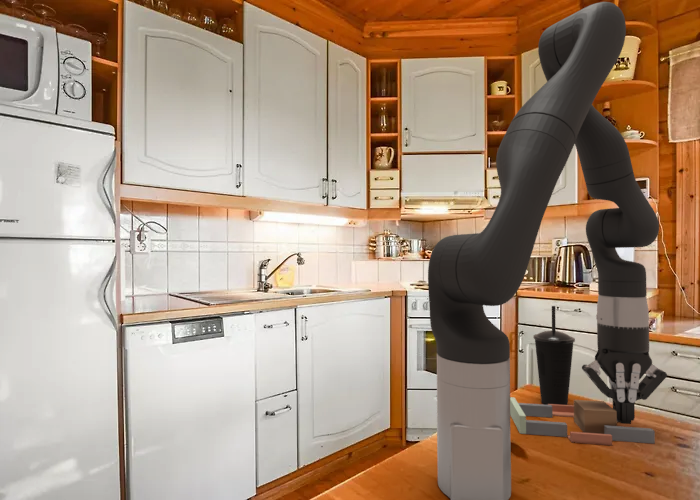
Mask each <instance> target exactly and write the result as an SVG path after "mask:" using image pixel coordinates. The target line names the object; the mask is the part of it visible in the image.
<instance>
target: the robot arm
mask: <svg viewBox="0 0 700 500" xmlns="http://www.w3.org/2000/svg"><path fill="white" fill-rule="evenodd" d="M626 26H627V25H626V18H625V15H624V13H623V11H622V9H621V8H620V6H618V5H616V4H615V3H613V2H610V1H600V2H596V3H592V4H590V5H588V6H585V7H584V8H582V9H580V10H578V11H576V12H574V13H573V14H571V15H569V16H566V17H565V18H562V19H561V20H559V21H557V22H556V23H554V24H552V25H550V26H549V27H547V28H546V29H544V31H543V32H542V34H541V35H540V36H539V37H540V38H539V41H538V45H537V46H538V48H537V49H538V51H537V52H538V58H539V62H540V66H541V69H542V71H543V72H542V73H543V75H544V78H545V79H546V82H545V84H543V85H542V86H541V87H540V88H539V89H538V90H537V91H536V92H535V93H534V94H533V95H532V96H531V97H530V98H528V100H527V101H526V102H525V103H524V104H523V105H522V106H521V107H520V108H519V110H518V111H517V113H516V114H515V115H514V117H513V118H512V120H511V121H510V124H509V125H508V128H507V130H506V132H505V134H504V136H503V137H502V139H501V142H500V145H499V146H498V149H497V152H496V157H495V158H496V159H495V160H496V161H495V165H496V172H497V173H496V174H497V178H498V182H499V186H500V195H499V199H498V203H497V205H496V207H495V210H494V211H493V214H492V216H491V218H490V219H489V221H488V223H487V224H486V226H485V227H484V229H483V230H482V231H481V232H478V233H477V232H476V233H462V234H452V235H449V236H446V237H443V238H442V239H440V240H439V241H437V243H436V244H435V245H434V247H433V249H432V252H431V253H430V257H429V261H428V267H427V285H428V286H427V289H428V290H427V291H428V302H429V305H428V306H429V308H428V309H429V321H430V324H429V325H430V329H431V332H432V335H433V337H434V340H435V343H436V414H437V415H436V423H437V424H436V428H437V430H436V431H437V432H436V437H437V438H436V441H437V443H436V444H437V446H436V451H437V452H436V453H437V485H438V487H439V489H440V490H441V492H442V493H443V494H444V495H446V496H447V498H449V499H450V500H509V499H511V496H512V462H511V461H512V460H511V459H512V458H511V456H512V455H511V451H512V450H511V415H510V397H511V358H510V357H511V351H510V350H511V347H510V345H511V344H510V339H509V336H507V334H506V333H505V332H504V331H502V330H501V329H499V328H498V327H497V326H496V325H494V324H493V322H492V321H490V319H489V317H488V316H487V315H486V313H485V310H484V306H489V307H496V306H502V305H505V304H506V303H508V302H509V301H510V300H512V298H514V297H515V295H516V293H517V292H518V291H519V289H520V288H521V285H522V283H523V280H524V277H525V275H526V273H527V269H528V266H529V263H530V261H531V257H532V254H533V250H534V246H535V244H536V240H537V237H538V233H539V230H540V227H541V224H542V221H543V218H544V215H545V213H546V210H547V207H548V205H549V203H550V201H551V198H552V195H553V192H554V190H555V188H556V185H557V183H558V181H559V178H560V176H561V174H562V172H563V170H564V168H565V166H566V164H567V161H568V160H569V157H570V155H571V153H572V150H573V148H574V146H575V148H576V152H577V155H578V159H579V163H580V167H581V170H582V175H583V179H584V182H585V186H586V190H587V192H588V195H589V196H590V198H592V199H594V200H599V201H600V200H602V201H603V200H604V201H608V202H612V203H614V204H615V205H616V206H617V207H614V208H613V207H612V208H603V209H602V208H601V209H598V210H595V211H593V212H592V213H591V214H590V216H589V217H588V219H587V220H586V223H585V224H586V225H585V234H586V239H587V242H588V244H589V248H590V251H591V253H592V256H593V257H592V258H593V260H594V264H595V267H596V271H597V291H598V292H597V293H598V295H597V296H598V297H597V303H596V316H595V317H596V326H597V329H596V330H597V331H596V332H597V333H596V334H597V335H596V336H597V338H596V339H597V351H596V354H595V355H594V360H593V361H592V362H590V363H589V364H583V365H582V366H581V369H582V371H583V372H584V374H585V375H587V377H588V378H589V380H591V381H592V383H593V384H594V386H595V387H596V388H597V390H599V391H600V392H601V394H603V395H604V396H605V397H607V398H609V399H612V408H613V409H614V410H615V411H616V412H617V420H618V421H619V422H618V423H620V424H623V425H624V424H625V425H632V421H635V415H636V413H635V403H636V402H637V401H638V400H639V401H640V400H643V401H646V400H647V399H648V398H649V397H650V396H651V395H652V394H653V393H654V392H655V390H656V389H657V388H658V387H659V386H660V385H661V384H662V382H663V381H664V380H666V378H667V377H668V375H667V372H666V371H664V370H662V369H661V368H659V367H657V366H655V365H654V363H653V360H652V359H653V358H651V356H650V354H649V352H650V319H649V318H650V316H649V315H650V314H649V304H648V298H647V295H648V293H647V271H646V270H647V269H646V267H645V266H644V265H643V264H642V263H640V262H636V261H630V260H627V259H626V260H625V259H623V258H622V257H620V255H619V254H618V251H617V250H616V249H617V248H618V249H620V248H622V249H623V248H624V249H625V248H628V249H630V248H644V247H648V246H651V245H652V244H653V243H654V242H655V241H656V239H657V237H658V236H659V231H660V222H659V219H658V217H657V213H656V212H655V210H654V208H653V206H652V205H651V203H650V202H649V201H648V199H647V198H646V196H645V194H644V192H643V190H642V188H641V187H640V185H639V183H638V181H637V179H636V177H635V174H634V169H633V164H632V160H631V156H630V155H631V154H630V151H629V147H628V144H627V143H626V140H625V138H624V137H623V135H622V134H621V132H620V131H619V130H618V129H617V128H616V127H615V126H614V125H613V123H611V122H610V121H609V120H608V119H607V118H606V117H605V116H603V115H602V113H601V112H600V111H598V110H597V109H596V108H595V107H594V105H593V103H594V101H595V99H596V97H597V95H598V93H599V92H600V89H601V88H602V86H603V85H604V83H605V81H606V79H607V78H608V76H609V75H610V73H611V71H612V70H613V68H614V67H615V65H616V63H617V62H618V59H619V58H620V56H621V54H622V51H623V47H624V45H625V40H626V36H627V35H626V34H627V33H626V31H627V27H626ZM602 371H603V373H604V374H605V376H607V377H608V382H609V385H610V387H609V386H608V384H606V383H605V382H604V381H605V380H603V379H602V377H601V376H600V375H601V372H602ZM644 375H645V376H644ZM643 376H644V377H643ZM641 378H643V379H642V380H641Z"/></svg>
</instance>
